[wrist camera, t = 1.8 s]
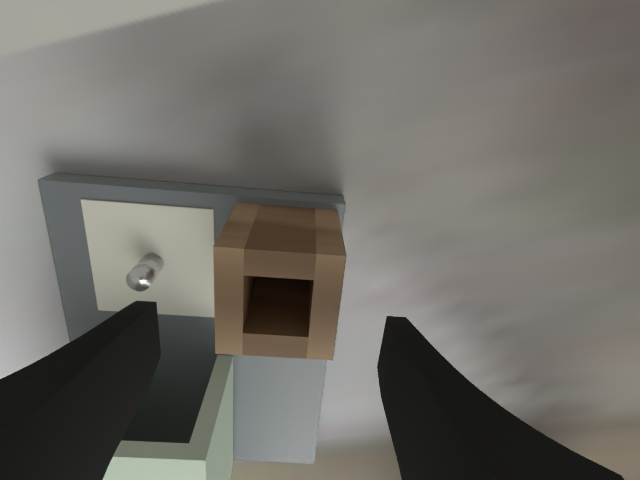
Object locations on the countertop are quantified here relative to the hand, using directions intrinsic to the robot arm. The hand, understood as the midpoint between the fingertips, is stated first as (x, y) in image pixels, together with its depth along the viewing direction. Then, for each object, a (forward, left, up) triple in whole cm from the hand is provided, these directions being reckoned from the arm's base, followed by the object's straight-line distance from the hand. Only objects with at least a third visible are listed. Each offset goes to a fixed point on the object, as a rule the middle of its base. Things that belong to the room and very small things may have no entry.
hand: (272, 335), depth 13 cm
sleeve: (0, 0, -6) cm, 6 cm away
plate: (-6, +4, -7) cm, 10 cm away
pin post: (-1, +6, -6) cm, 9 cm away
